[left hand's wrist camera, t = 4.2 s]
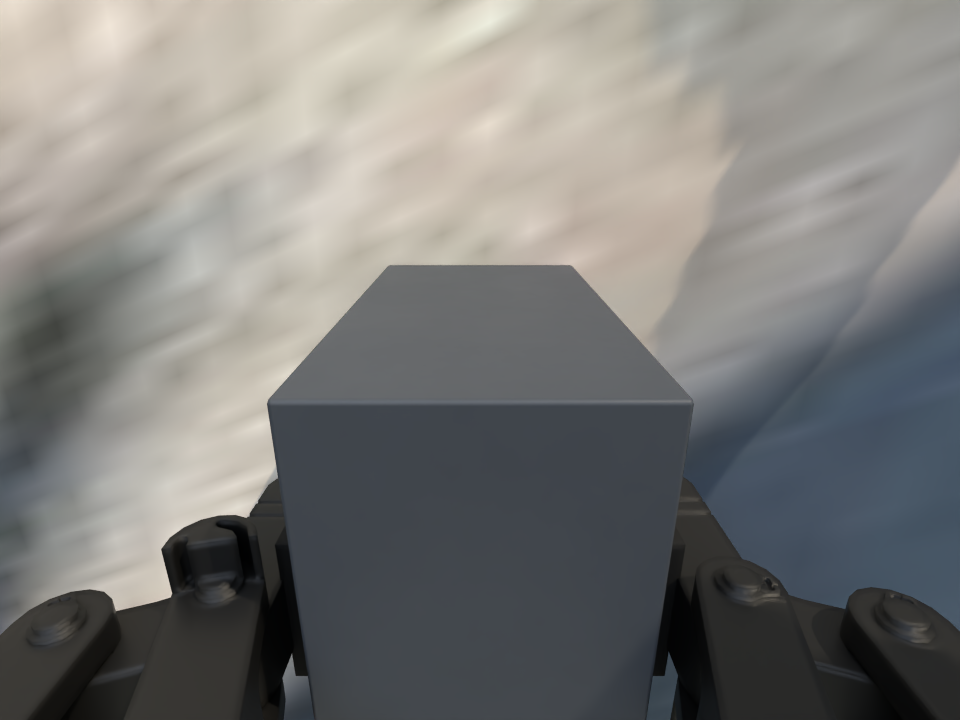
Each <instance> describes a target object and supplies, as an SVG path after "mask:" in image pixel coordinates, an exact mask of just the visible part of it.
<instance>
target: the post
mask: <svg viewBox="0 0 960 720" xmlns="http://www.w3.org/2000/svg"><path fill="white" fill-rule="evenodd" d="M693 405H694V403H693V400H692V399H691V398H690V396H689V395H688V394H687V393H686V392H685V391H684V390H683V389H682V388H681V386H680V385H679V384H678V383H677V382H676V381H675V380H674V379H673V378H672V376H671V375H670V374H669V373H668V372H667V371H666V370H665V369H664V368H663V366H662V365H661V364H660V363H659V362H658V361H657V360H656V359H655V358H654V357H653V355H652V354H651V353H650V352H649V351H648V350H647V349H646V348H645V347H644V345H643V344H642V343H641V342H640V341H639V340H638V339H637V338H636V337H635V335H634V334H633V333H632V332H631V331H630V330H629V329H628V328H627V327H626V325H625V324H624V323H623V322H622V321H621V320H620V319H619V318H618V317H617V315H616V314H615V313H614V312H613V311H612V310H611V309H610V308H609V307H608V305H607V304H606V303H605V302H604V301H603V300H602V299H601V298H600V297H599V296H598V294H597V293H596V292H595V291H594V290H593V289H592V288H591V287H590V286H589V284H588V283H587V282H586V281H585V280H584V279H583V278H582V277H581V276H580V274H579V273H578V272H577V271H576V270H575V269H574V268H573V267H572V266H570V265H390V266H388V267H387V268H386V269H385V270H384V271H383V273H382V274H381V275H380V276H379V277H378V278H377V279H376V280H375V281H374V283H373V284H372V285H371V286H370V287H369V288H368V289H367V290H366V291H365V293H364V294H363V295H362V296H361V297H360V298H359V299H358V300H357V302H356V303H355V304H354V305H353V306H352V307H351V308H350V309H349V310H348V312H347V313H346V314H345V315H344V316H343V317H342V318H341V319H340V320H339V322H338V323H337V324H336V325H335V326H334V327H333V328H332V329H331V331H330V332H329V333H328V334H327V335H326V336H325V337H324V338H323V339H322V341H321V342H320V343H319V344H318V345H317V346H316V347H315V348H314V349H313V351H312V352H311V353H310V354H309V355H308V356H307V357H306V358H305V359H304V361H303V362H302V363H301V364H300V365H299V366H298V367H297V368H296V370H295V371H294V372H293V373H292V374H291V375H290V376H289V377H288V378H287V380H286V381H285V382H284V383H283V384H282V385H281V386H280V387H279V388H278V390H277V391H276V392H275V393H274V394H273V395H272V396H271V397H270V399H269V400H268V403H267V406H268V413H269V420H270V426H271V433H272V440H273V446H274V453H275V460H276V466H277V473H278V479H279V486H280V493H281V499H282V506H283V513H284V519H285V526H286V533H287V539H288V546H289V553H290V559H291V566H292V573H293V579H294V586H295V592H296V599H297V606H298V612H299V619H300V626H301V632H302V639H303V646H304V652H305V659H306V666H307V672H308V679H309V686H310V692H311V699H312V705H313V712H314V719H315V720H646V716H647V710H648V703H649V697H650V690H651V683H652V677H653V670H654V664H655V657H656V650H657V644H658V637H659V630H660V624H661V617H662V611H663V604H664V597H665V591H666V584H667V577H668V571H669V564H670V558H671V551H672V544H673V538H674V531H675V525H676V518H677V511H678V505H679V498H680V491H681V485H682V478H683V472H684V465H685V458H686V452H687V445H688V438H689V432H690V425H691V419H692V412H693Z"/></svg>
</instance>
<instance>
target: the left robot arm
mask: <svg viewBox="0 0 960 720" xmlns="http://www.w3.org/2000/svg"><path fill="white" fill-rule="evenodd" d="M161 550H162V554H163V558H164V562H165V566H166V570H167V574H168V578H169V582H170V586H171V590H172V596H171V598H168V599H164V600H161V601H158V602H154V603H150V604H146V605H141V606H137V607H133V608H128V609H124V610H120V611H116V610H115V607H114V604H113V601H112V599H111V598H110V597H109V596H108V595H107V594H106V593H105V592H102V591H96V590H82V591H74V592H69V593H66V594H63V595H61V596H58V597H55V598H52V599H49V600H47V601H46V602H44V603H42V604H40V605H38V606H36V607H34V608H32V609H31V610H29V611H28V612H26V613H25V614H24V615H23V616H21V617H20V618H19V619H18V620H16V621H15V622H14V623H13V624H11V625H10V626H9V627H8V628H7V629H6V630H5V631H4V632H3V633H2V634H1V635H0V720H284V710H285V700H286V699H285V691H284V685H283V679H282V677H283V675H284V672H285V670H286V667H287V664H288V662H289V659H290V657H291V654H292V655H293V661H294V668H295V674H296V676H308V672H307V666H306V659H305V652H304V646H303V639H302V632H301V626H300V619H299V612H298V606H297V599H296V592H295V586H294V579H293V573H292V566H291V559H290V553H289V546H288V539H287V533H286V526H285V519H284V513H283V506H282V499H281V493H280V486H279V479H276V480H275V481H273V482H272V483H271V484H269V485H268V487H267V488H266V490H265V491H264V493H263V494H262V496H261V497H260V499H259V500H258V504H256V505H255V507H254V508H253V510H252V511H251V513H250V517H247V518H244V517H240V516H237V515H224V516H215V517H211V518H207V519H203V520H200V521H198V522H195V523H193V524H191V525H189V526H186V527H184V528H183V529H181V530H180V531H179V532H177V533H176V534H174V535H173V536H172V537H170V538H169V540H168V541H167V542H166V544H165V545H164V546H163V548H162V549H161ZM668 651H669V653H670V656H671V658H672V661H673V663H674V666H675V669H676V671H677V674H678V679H677V685H676V690H675V696H674V702H673V708H672V714H671V719H670V720H960V631H959V630H958V629H957V628H956V627H954V626H953V625H952V624H951V623H950V622H949V621H948V620H947V619H945V618H944V617H943V616H942V615H940V614H939V613H938V612H937V611H935V610H934V609H933V608H931V607H929V606H927V605H926V604H924V603H922V602H920V601H918V600H916V599H914V598H912V597H910V596H907V595H904V594H901V593H898V592H895V591H892V590H888V589H881V588H873V587H870V588H864V589H858V590H856V591H855V592H854V593H853V594H852V595H851V596H849V599H848V602H847V605H846V609H842V608H837V607H833V606H829V605H824V604H820V603H816V602H811V601H807V600H803V599H800V598H797V597H793V596H790V595H788V593H787V591H786V590H785V588H784V587H783V585H782V584H781V582H780V581H779V580H778V579H777V578H776V577H775V576H773V575H772V574H771V573H770V572H769V571H767V570H766V569H764V568H762V567H760V566H758V565H756V564H754V563H752V562H750V561H747V560H743V559H742V558H741V557H740V555H739V554H738V552H737V551H736V549H735V548H734V546H733V545H732V543H731V542H730V540H729V539H728V537H727V535H726V534H725V532H724V531H723V529H722V528H721V526H720V525H719V523H718V522H717V520H716V519H715V517H714V516H713V515H711V511H710V510H709V508H708V507H707V505H706V504H705V502H702V498H701V496H700V495H699V493H698V492H697V490H696V489H695V487H694V486H693V484H692V483H691V482H689V481H688V480H687V479H685V478H684V477H683V478H682V485H681V491H680V498H679V505H678V511H677V518H676V525H675V531H674V538H673V544H672V551H671V558H670V564H669V571H668V577H667V584H666V591H665V597H664V604H663V611H662V617H661V624H660V630H659V637H658V644H657V650H656V657H655V664H654V670H653V676H665V670H666V664H667V657H668Z"/></svg>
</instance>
